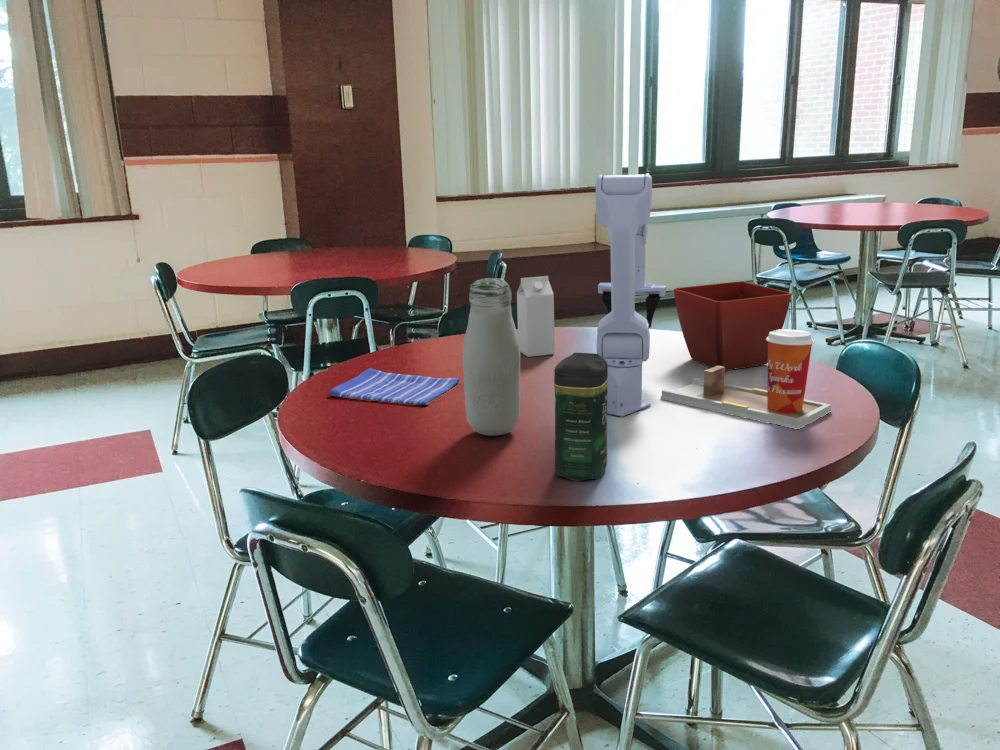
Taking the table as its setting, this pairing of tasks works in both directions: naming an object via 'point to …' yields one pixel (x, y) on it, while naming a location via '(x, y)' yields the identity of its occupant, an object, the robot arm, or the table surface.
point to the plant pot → (730, 322)
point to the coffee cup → (787, 369)
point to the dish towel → (394, 387)
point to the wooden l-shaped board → (739, 394)
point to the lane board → (692, 391)
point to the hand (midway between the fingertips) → (631, 325)
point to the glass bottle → (491, 360)
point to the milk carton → (535, 316)
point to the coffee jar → (581, 416)
